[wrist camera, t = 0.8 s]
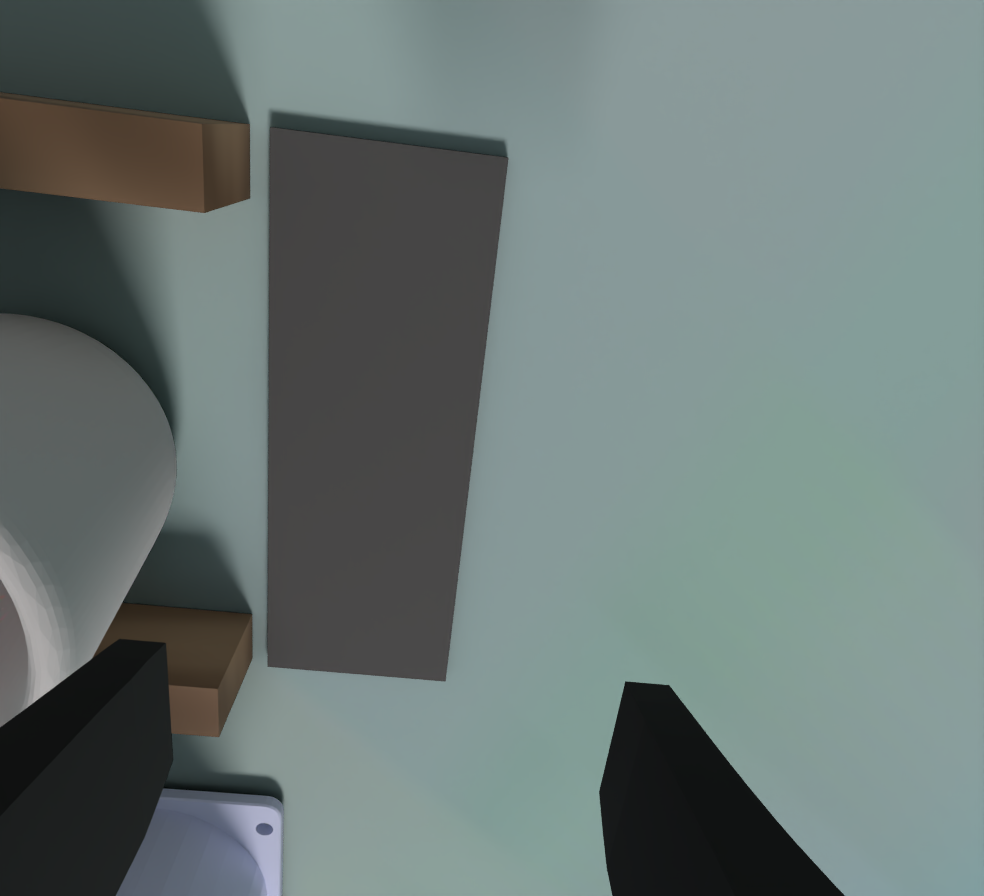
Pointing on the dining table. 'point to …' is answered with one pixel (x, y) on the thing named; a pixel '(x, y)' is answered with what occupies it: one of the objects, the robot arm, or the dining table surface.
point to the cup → (71, 498)
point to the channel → (166, 184)
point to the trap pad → (373, 395)
